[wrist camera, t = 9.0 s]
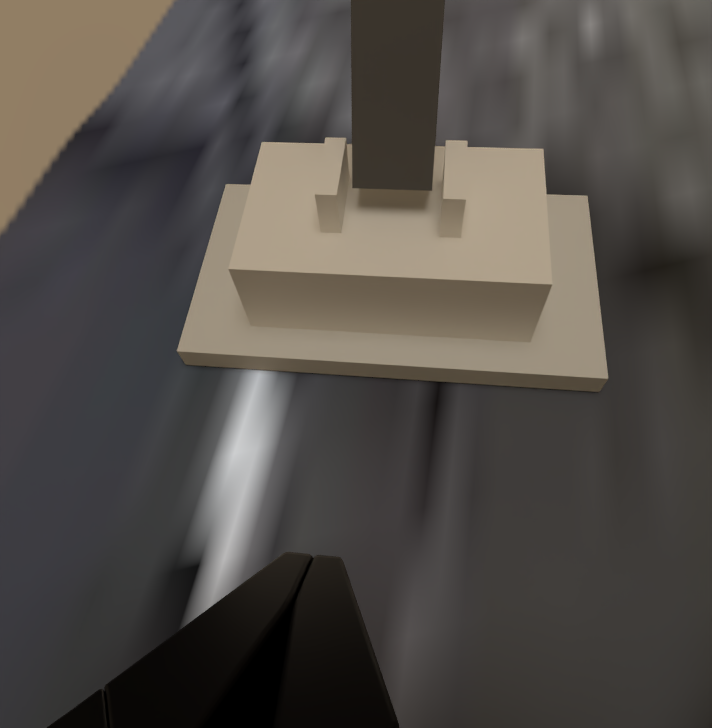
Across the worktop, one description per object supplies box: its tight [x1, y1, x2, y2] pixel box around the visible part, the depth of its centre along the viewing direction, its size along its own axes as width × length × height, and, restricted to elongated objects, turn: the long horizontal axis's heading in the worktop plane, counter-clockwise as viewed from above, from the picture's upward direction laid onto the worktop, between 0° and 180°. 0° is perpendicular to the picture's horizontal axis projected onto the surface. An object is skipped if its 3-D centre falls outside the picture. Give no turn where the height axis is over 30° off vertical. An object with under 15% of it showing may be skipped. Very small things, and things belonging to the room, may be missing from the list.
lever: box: [351, 0, 445, 191], centre depth 20 cm, size 2×4×10 cm, turn 84°
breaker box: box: [177, 138, 608, 392], centre depth 25 cm, size 10×18×7 cm, turn 84°
